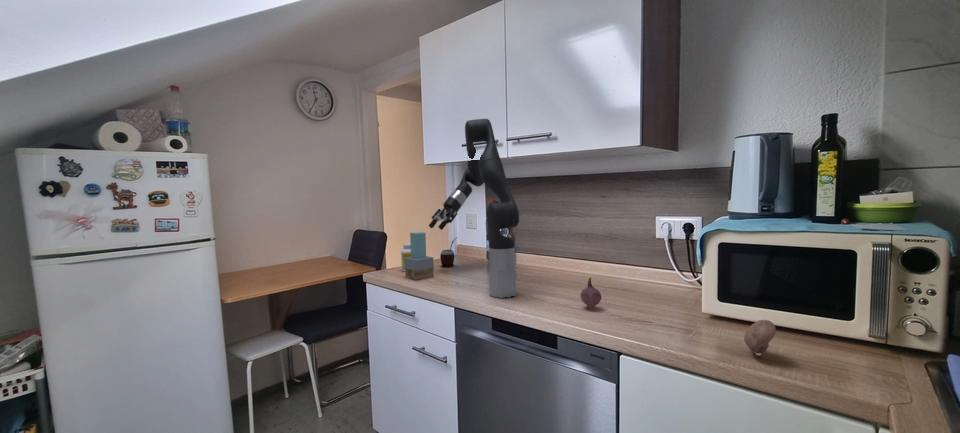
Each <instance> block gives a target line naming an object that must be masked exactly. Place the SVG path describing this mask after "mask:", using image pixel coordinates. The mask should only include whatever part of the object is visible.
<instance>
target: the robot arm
mask: <svg viewBox="0 0 960 433" xmlns="http://www.w3.org/2000/svg"><path fill="white" fill-rule="evenodd" d="M464 134H465V136H464V138H465V142H466V143H465V145H466V151H467V152H466V153H467V157H468V156H469V158H471V159H473V158H474V156H475V153H476V149H475V147H476V146H475V147H474V145H475V144H474V145H473V143H480V142H481V143H482V142H485V143H486V145H485V148H484V150H483V152H481V154H482V155H481V157H480V160H471V161H468V160H467V169H465V171H464V172H463V175H462V178H461V180H460V183H459V184H458V185H457V187H456V188H455V189H454V190H453V191H452V192H451V193H450V195H449V196H448V197H447V199H446V200H445V201H444V202H443V204H442V205H443V208H442V209H440V208H438V209H437V210H436V212H435V213H434V214H433V215H432V216H431V219H432V220H431V222H430V223H429V224H428V227H429V228H430V229H433V228H435V225H437V223H439V221H441V222H440V224H439V225H438V228H439V230H441V231H442V230H444V228H445V227H446V225H448V224H452V222H454V220H455V218H456V216H457V215H458V212H459V210H460V209H461V208H462V206H463V205H464V204H465V202H466V201H467V199H468V197H469V196H470V195H471V194H472V193H473V188H472V187H471V185H473V186H475V187H481V186H482V185H483V184H485V186H486V187H487V188H488V189H489V190H491V192H492V193H494V194H495V195H496V196H497V197H498V199H499V200H500V202H491V203H489V204H488V205H487V208H486V223H487V226H486V227H487V241H488V267H489V270H488V272H489V274H488V275H489V276H488V278H489V279H488V280H489V295H490V296H491V297H492V298H498V297H499V299H505V297H507V298H511V296H514V297H516V296H517V285H516V284H517V283H516V282H517V281H516V280H517V278H516V262H515V260H516V258H515V257H516V254H515V253H516V252H515V251H516V250H515V246H516V245H515V240H514V239H513V238H512V237H508V236H505V235H503V234H502V233H501V231H500V230H501V229H510V228H515V227H517V226H518V225H519V222H520V214H519V213H520V212H519V209H518V206H517V203H516V200H515V198H514V196H513V193H512V191H511V188H510V186H509V182H508V179H507V177H506V173H505V168H504V166H503V163H502V159H501V157H500V154H499V151H498V148H497V147H498V146H497V144H496V139H495V138H496V137H495V134H494V130H493V125H492V123H491V121H490V120H489V119H488V118H478V119H477V118H476V119H470V120H467V121H466V122H465V125H464ZM469 183H470V184H471V185H470V184H469Z"/></svg>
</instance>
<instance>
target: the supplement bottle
mask: <svg viewBox="0 0 960 433" xmlns="http://www.w3.org/2000/svg"><path fill="white" fill-rule="evenodd" d="M402 248H403V249H401V251H400V256H401V271H402V272H404V273H405V258H407V257H411V242H410V243H408V242H407V243H403V244H402Z"/></svg>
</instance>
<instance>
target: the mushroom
mask: <svg viewBox="0 0 960 433" xmlns="http://www.w3.org/2000/svg"><path fill="white" fill-rule="evenodd" d="M776 332H777V329H776V325H775V323H773V322H772V321H770V320H768V319H759V320H757V321H756V322H754V323H752V324H751V325H750V326H749V327H748V328H747V330H746V331H745V334H744V340H743V341H744V343H745V344H746V346H747V347H748V348H749V350H750V351H752V352H753V353H754V352H756V353H763V354H764V353H765V352H767V351H768V349H769V347H770V346H769V345H770V344H769V343H770V342H771V341H772V339H774V337H775V334H776Z"/></svg>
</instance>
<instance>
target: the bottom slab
mask: <svg viewBox="0 0 960 433" xmlns="http://www.w3.org/2000/svg"><path fill="white" fill-rule="evenodd" d="M404 273H405V278H407V279H410V280H412V281H414V282H417V281H421V280H426V279H432V278H434V274H435V272H434V268H429V269H424V270H419V271H414V270H410V269H407V268H405V272H404Z"/></svg>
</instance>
